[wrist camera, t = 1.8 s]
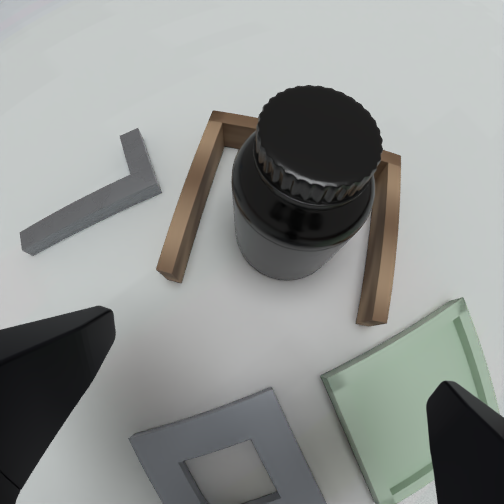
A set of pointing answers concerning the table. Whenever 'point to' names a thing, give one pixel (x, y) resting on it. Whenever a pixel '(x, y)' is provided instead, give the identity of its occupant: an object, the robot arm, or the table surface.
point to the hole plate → (222, 436)
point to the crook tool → (98, 200)
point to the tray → (406, 397)
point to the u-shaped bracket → (198, 186)
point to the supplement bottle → (304, 180)
